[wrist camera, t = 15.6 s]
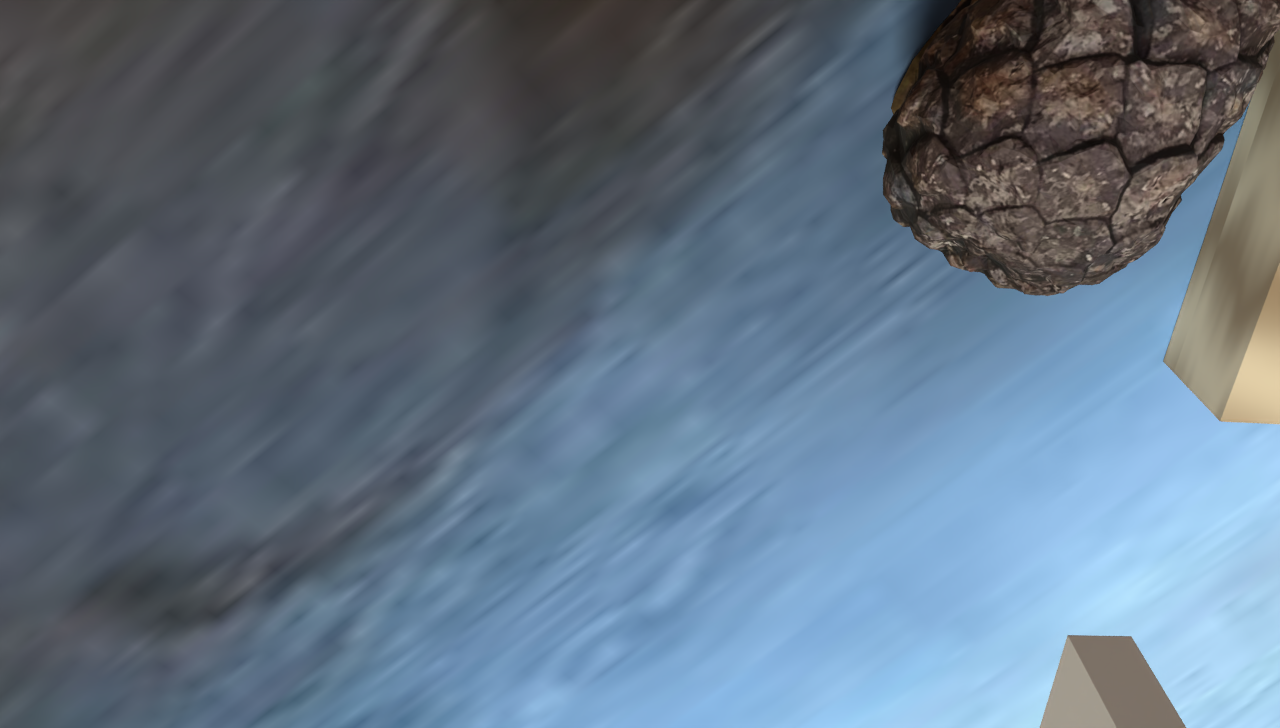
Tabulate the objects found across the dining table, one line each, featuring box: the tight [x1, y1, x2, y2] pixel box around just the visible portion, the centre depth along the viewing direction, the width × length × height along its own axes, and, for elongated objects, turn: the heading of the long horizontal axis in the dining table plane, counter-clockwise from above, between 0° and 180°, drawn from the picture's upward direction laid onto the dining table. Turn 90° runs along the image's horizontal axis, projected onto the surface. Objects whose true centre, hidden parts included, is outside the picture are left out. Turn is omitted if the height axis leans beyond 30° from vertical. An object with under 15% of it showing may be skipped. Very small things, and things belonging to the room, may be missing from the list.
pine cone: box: [882, 0, 1280, 296], centre depth 35 cm, size 10×18×10 cm, turn 153°
